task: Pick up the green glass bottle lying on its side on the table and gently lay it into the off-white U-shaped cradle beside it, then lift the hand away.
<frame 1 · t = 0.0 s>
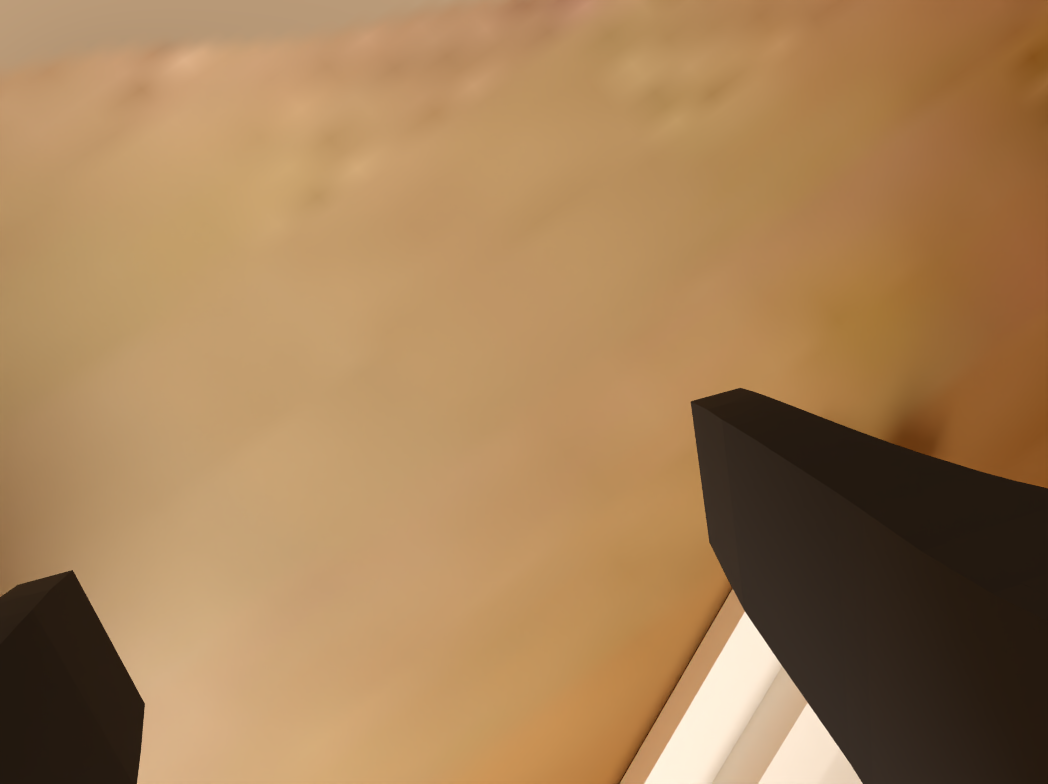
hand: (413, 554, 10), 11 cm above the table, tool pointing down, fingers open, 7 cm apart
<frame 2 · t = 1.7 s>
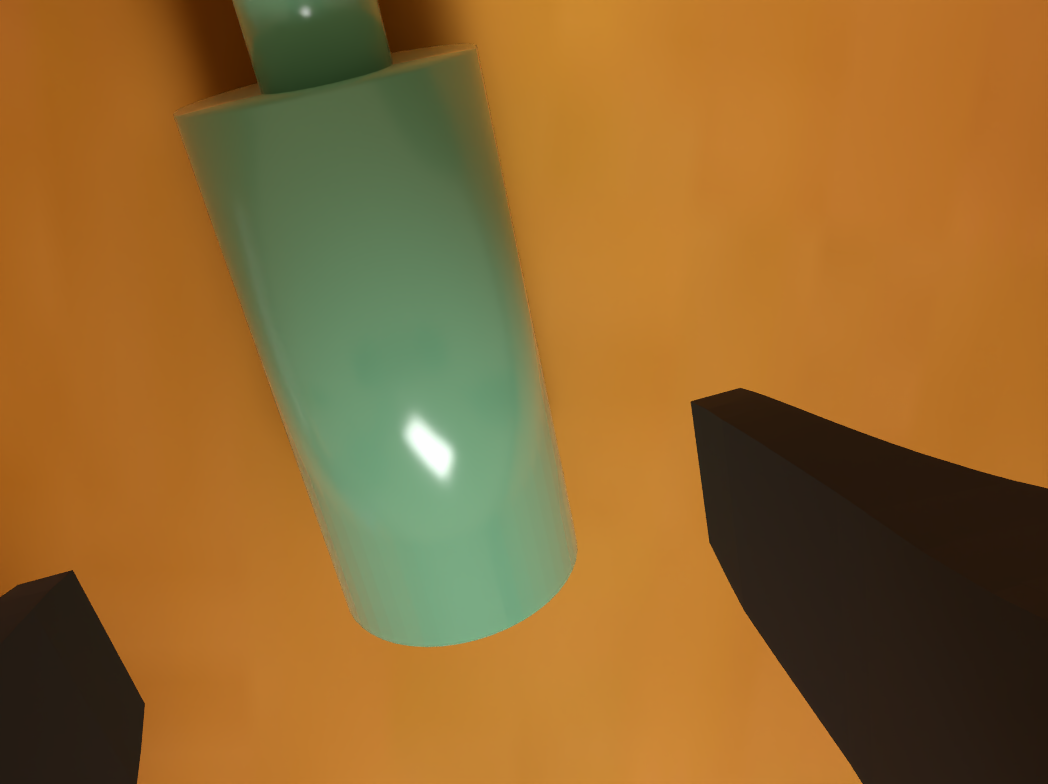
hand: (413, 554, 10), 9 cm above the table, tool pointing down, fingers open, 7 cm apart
green bottle: (396, 308, 19), on the table
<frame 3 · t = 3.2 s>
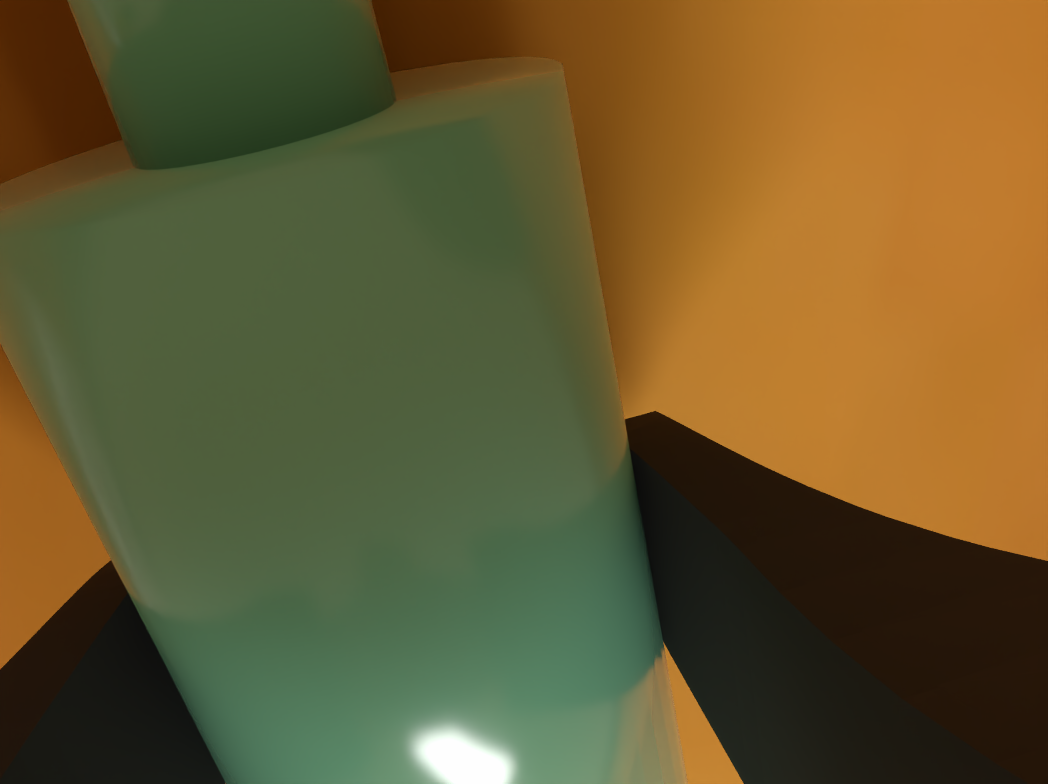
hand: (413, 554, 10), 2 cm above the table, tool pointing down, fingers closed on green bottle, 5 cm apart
green bottle: (404, 478, 12), on the table, touching gripper
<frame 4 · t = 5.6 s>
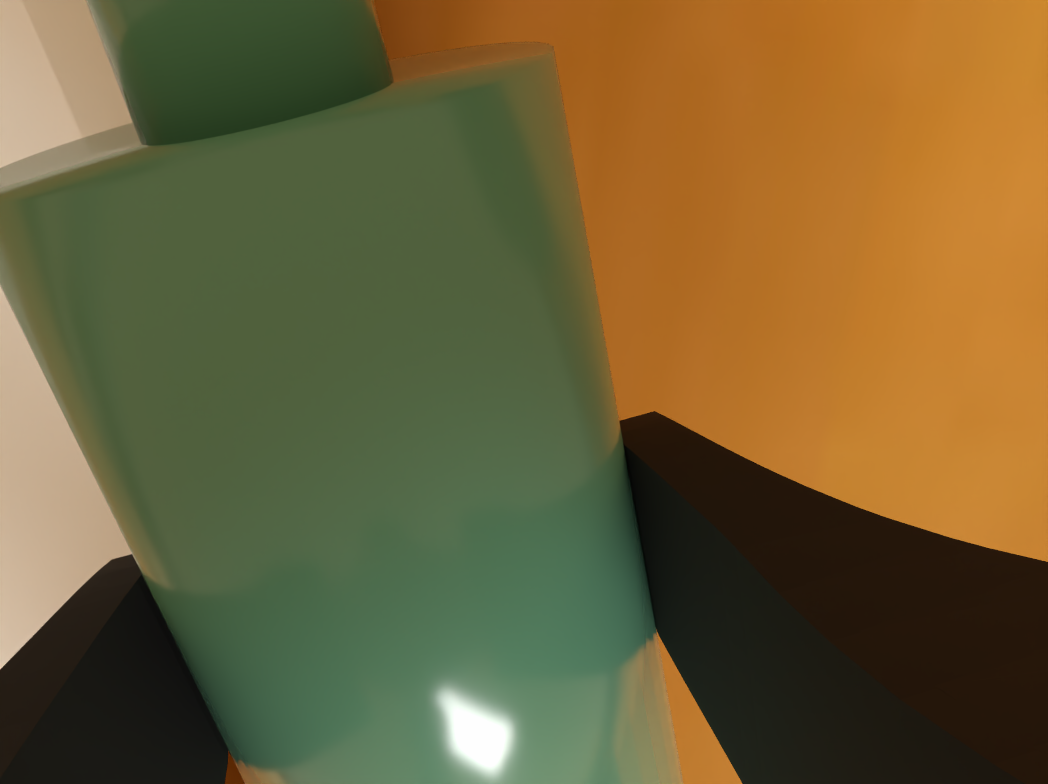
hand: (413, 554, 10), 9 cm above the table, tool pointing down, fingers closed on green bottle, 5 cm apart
green bottle: (426, 454, 12), point 7 cm above the table, tilted 8°, touching gripper
bottle cradle: (10, 363, 17), on the table
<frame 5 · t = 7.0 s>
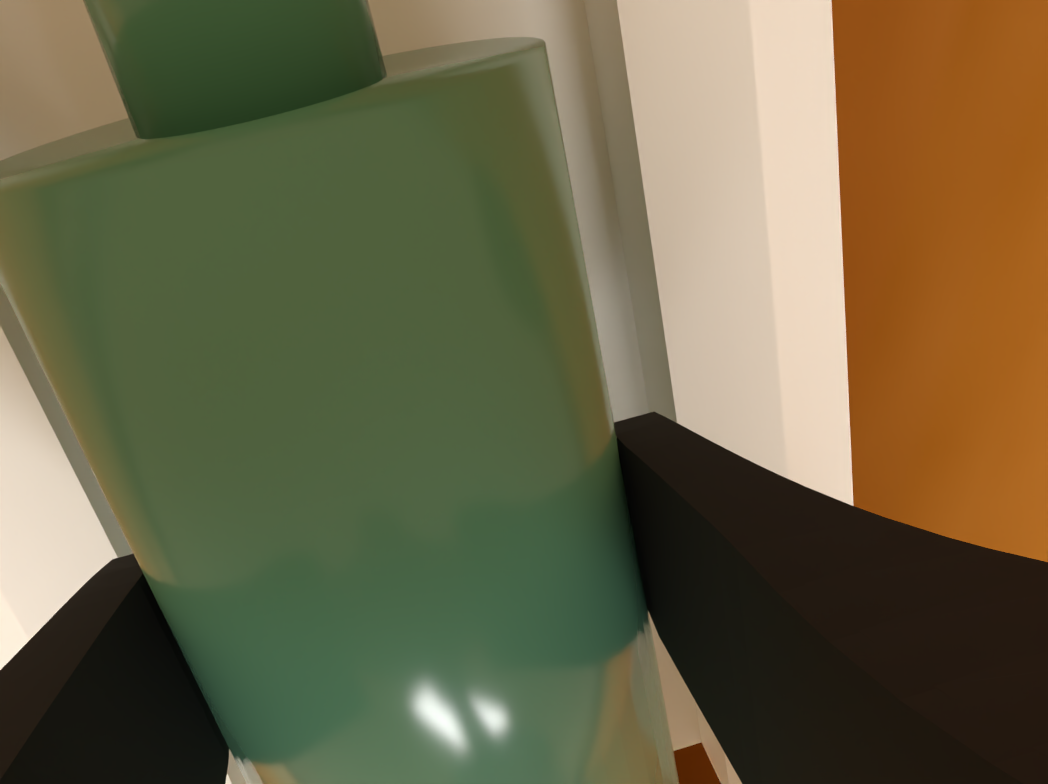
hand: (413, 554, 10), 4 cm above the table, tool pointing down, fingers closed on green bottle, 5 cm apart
green bottle: (429, 446, 12), point 2 cm above the table, tilted 10°, touching gripper
bottle cradle: (395, 405, 14), on the table
when the fingers open (4 cm above the table, at t = 7.9 s): green bottle stays where it is, resting on bottle cradle.
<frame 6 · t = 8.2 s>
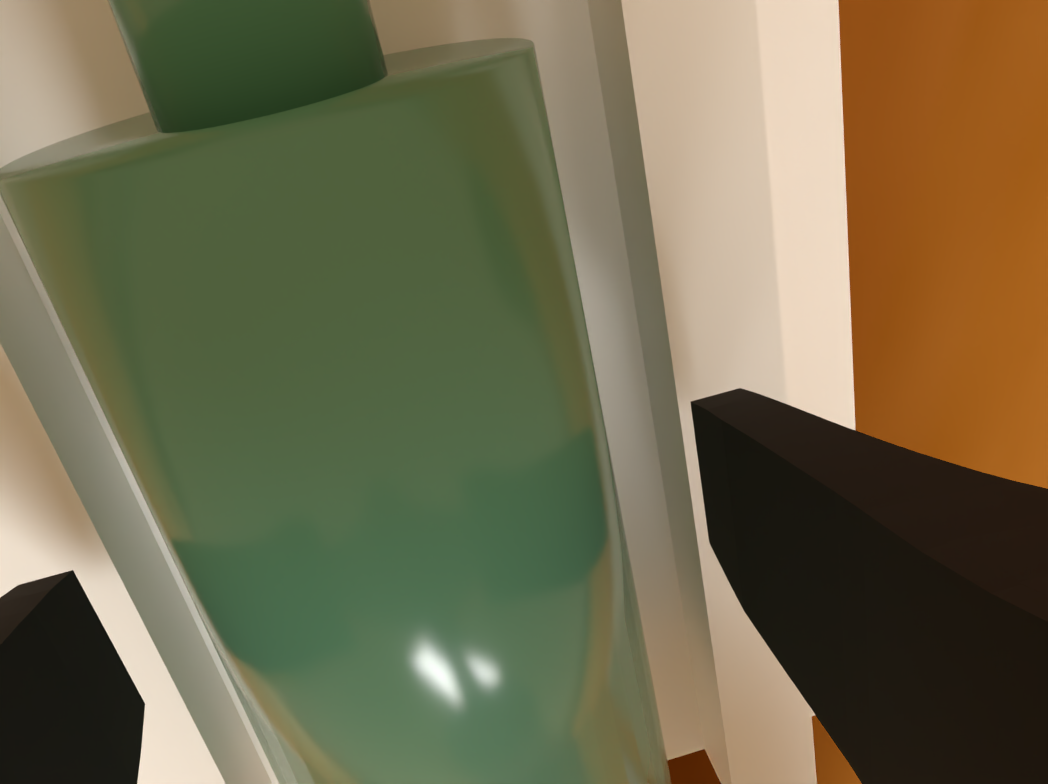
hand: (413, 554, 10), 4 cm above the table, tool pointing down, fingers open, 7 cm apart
green bottle: (426, 425, 13), point 1 cm above the table, tilted 10°, touching bottle cradle
bottle cradle: (395, 409, 14), on the table
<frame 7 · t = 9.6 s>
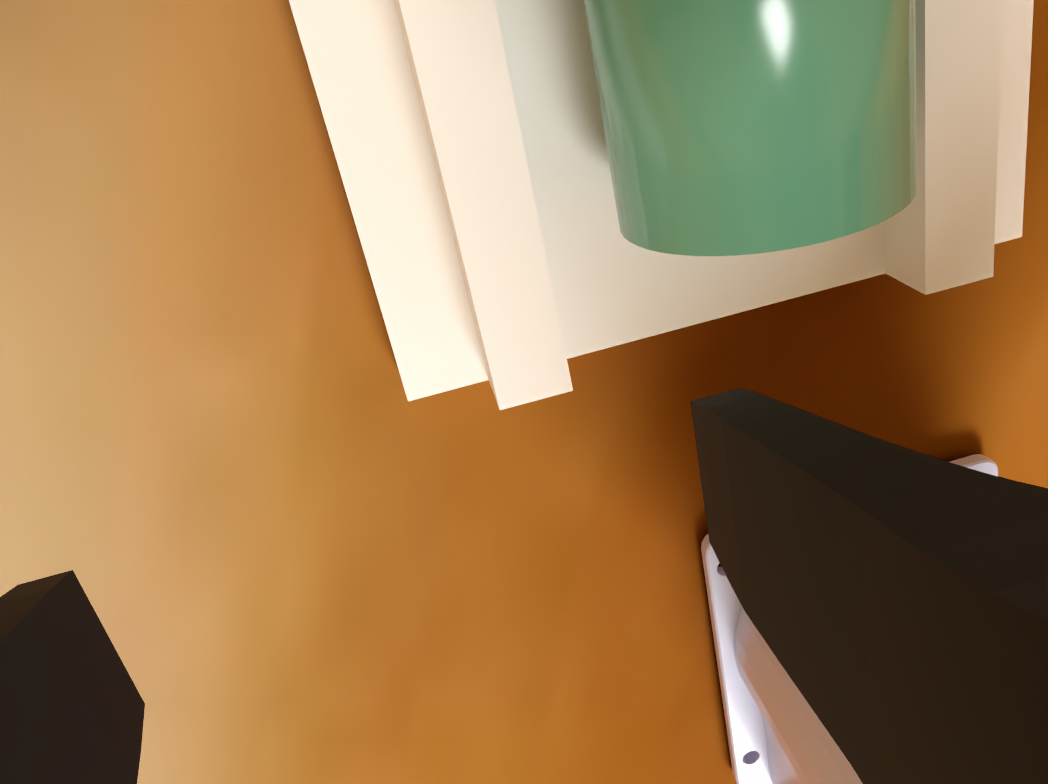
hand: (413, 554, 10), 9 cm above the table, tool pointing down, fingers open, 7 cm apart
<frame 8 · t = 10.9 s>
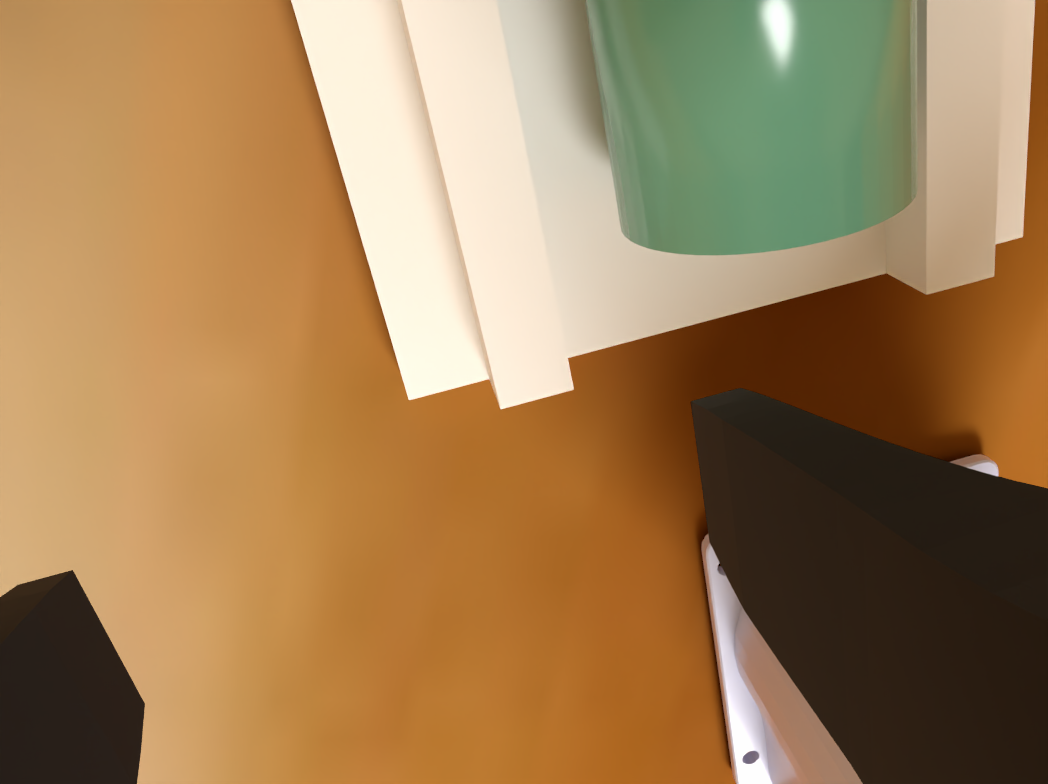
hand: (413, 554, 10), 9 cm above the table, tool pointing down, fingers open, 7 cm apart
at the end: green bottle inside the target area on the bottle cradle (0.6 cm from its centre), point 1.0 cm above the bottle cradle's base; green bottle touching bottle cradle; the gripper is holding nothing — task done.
